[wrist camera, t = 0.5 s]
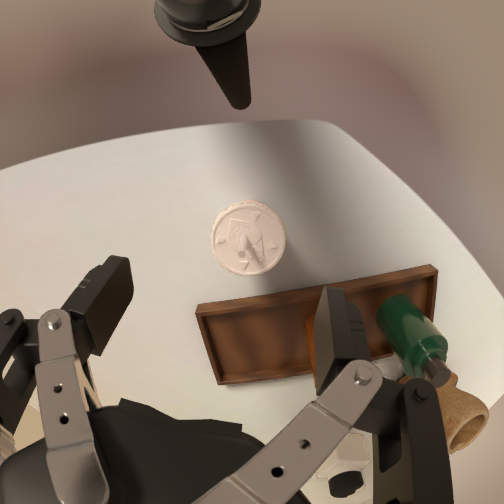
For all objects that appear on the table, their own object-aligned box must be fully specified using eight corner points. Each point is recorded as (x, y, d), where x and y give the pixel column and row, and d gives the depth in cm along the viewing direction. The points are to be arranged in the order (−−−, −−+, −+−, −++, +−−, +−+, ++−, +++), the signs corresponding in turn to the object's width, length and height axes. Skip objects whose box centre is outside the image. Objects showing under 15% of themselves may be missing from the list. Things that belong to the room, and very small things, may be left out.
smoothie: (256, 176, 33) (258, 196, 20) (289, 222, 35) (309, 270, 22) (210, 209, 35) (182, 249, 21) (243, 253, 36) (236, 315, 23)
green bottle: (390, 288, 37) (440, 351, 24) (421, 301, 38) (473, 361, 25) (367, 325, 39) (405, 397, 26) (399, 336, 40) (440, 402, 26)
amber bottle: (315, 302, 38) (341, 377, 25) (355, 316, 39) (391, 389, 25) (295, 339, 40) (309, 419, 26) (333, 351, 40) (358, 427, 27)
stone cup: (466, 359, 43) (507, 413, 28) (434, 407, 46) (463, 462, 32) (405, 353, 42) (445, 422, 27) (372, 406, 45) (396, 474, 31)
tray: (219, 375, 43) (218, 385, 41) (197, 304, 39) (194, 312, 37) (423, 337, 41) (429, 345, 39) (430, 263, 37) (438, 270, 35)
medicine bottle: (312, 450, 50) (319, 501, 38) (331, 429, 47) (343, 483, 36) (342, 453, 50) (353, 501, 39) (362, 433, 48) (377, 483, 37)
